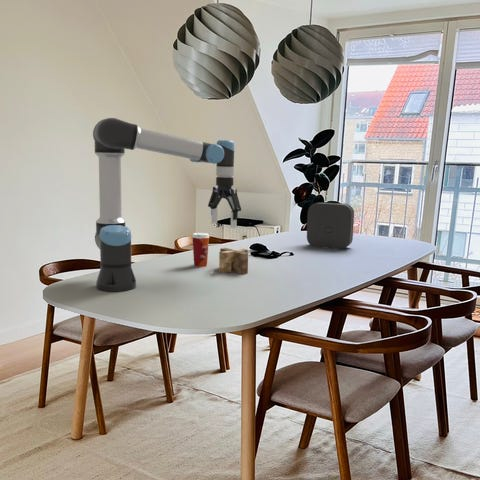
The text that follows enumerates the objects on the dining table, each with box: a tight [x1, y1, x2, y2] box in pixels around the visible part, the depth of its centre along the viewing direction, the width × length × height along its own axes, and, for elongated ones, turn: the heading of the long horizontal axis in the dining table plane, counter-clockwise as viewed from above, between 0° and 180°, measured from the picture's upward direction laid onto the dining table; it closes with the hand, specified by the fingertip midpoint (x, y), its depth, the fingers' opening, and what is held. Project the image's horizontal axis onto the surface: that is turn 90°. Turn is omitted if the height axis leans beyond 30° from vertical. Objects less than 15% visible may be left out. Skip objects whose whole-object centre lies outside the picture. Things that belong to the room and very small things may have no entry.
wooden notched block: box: [219, 247, 249, 275], centre depth 242 cm, size 16×3×9 cm, turn 40°
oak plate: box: [218, 248, 249, 274], centre depth 242 cm, size 14×3×9 cm, turn 130°
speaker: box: [306, 202, 355, 250], centre depth 305 cm, size 25×9×25 cm, turn 67°
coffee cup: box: [191, 232, 210, 268], centre depth 250 cm, size 8×8×15 cm
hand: (223, 225), depth 236 cm, fingers open, 13 cm apart
